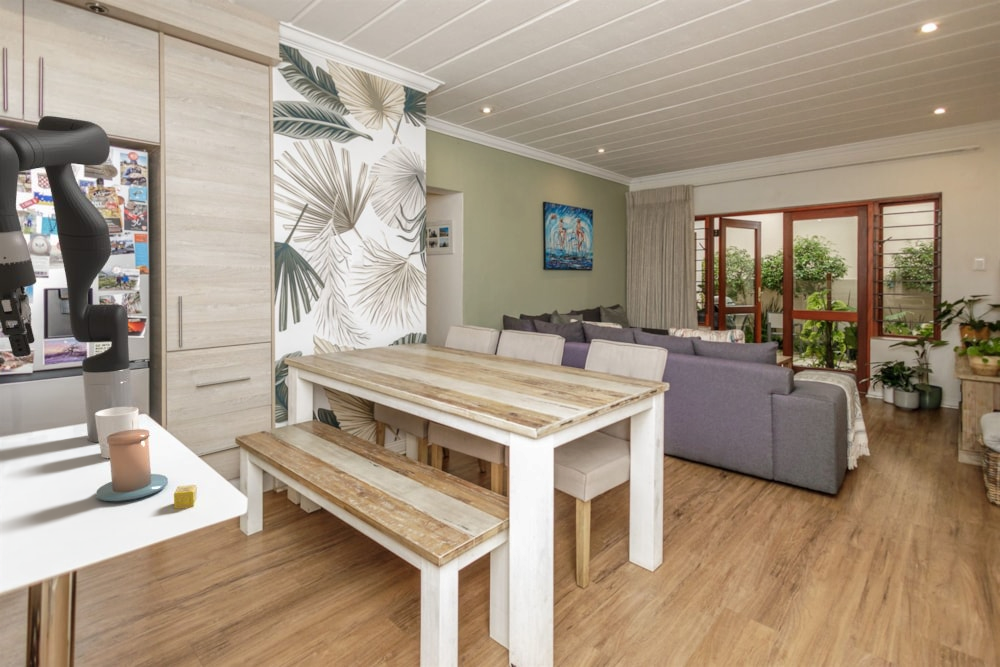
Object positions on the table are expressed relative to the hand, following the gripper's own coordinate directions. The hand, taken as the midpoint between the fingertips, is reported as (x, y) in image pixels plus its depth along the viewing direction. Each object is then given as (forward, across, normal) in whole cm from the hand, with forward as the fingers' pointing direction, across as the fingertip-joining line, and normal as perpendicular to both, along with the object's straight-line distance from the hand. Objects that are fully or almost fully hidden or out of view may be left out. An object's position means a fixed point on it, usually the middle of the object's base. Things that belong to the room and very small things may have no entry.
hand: (25, 349), depth 90 cm
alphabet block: (+27, -23, -18) cm, 40 cm away
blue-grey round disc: (+28, -11, -11) cm, 32 cm away
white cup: (+31, +14, -9) cm, 36 cm away
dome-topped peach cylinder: (+26, -11, -11) cm, 31 cm away
